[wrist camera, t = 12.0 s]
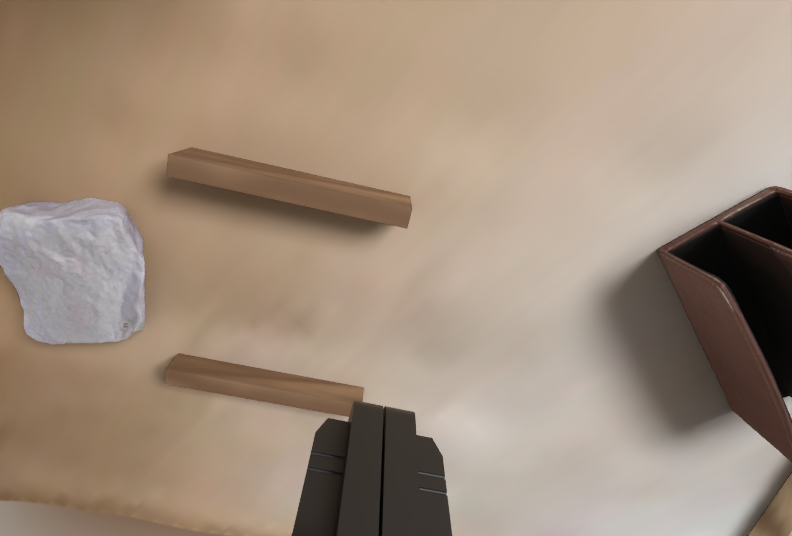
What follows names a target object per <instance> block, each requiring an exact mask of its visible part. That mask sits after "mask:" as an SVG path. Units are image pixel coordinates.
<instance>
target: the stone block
mask: <svg viewBox="0 0 792 536" xmlns="http://www.w3.org/2000/svg"><path fill="white" fill-rule="evenodd" d="M143 247H144V241H143V237H142V236H141V234H140V233H139V231H138V229H137V227H136V225H135V223H134V222H133V220H132V219H131V217H130V215H129V213H128V212H127V210H126V209H125V208H124V207H123V205H122V204H120V203H117V202H114V201H105V200H100V199H97V198H86V199H81V200H72V201H70V202H68V203H56V202H32V203H25V204H23V205H15V206H12V207H8V208H4V209H3V210H1V212H0V265H1V267H2V268H3V270H4V273H5V274H6V276H7V277H8V279H9V280H10V281H11V282H12V283H13V285H14V287H15V288H16V290H17V292H18V294H19V297H20V303H21V306H22V308H23V310H24V325H23V326H24V330H25V332H26V333H27V335H28V336H30V337H31V338H33V339H35V340H37V341H40V342H44V343H49V344H54V345H55V344H65V343H104V342H117V341H121V340H125V339H127V338H129V337H130V336H131V335H133V333H135V332H137V331H141V330H142V329H143V328H144V324H145V321H146V318H145V301H144V295H145V286H144V280H145V269H144V267H145V259H144V257H143Z"/></svg>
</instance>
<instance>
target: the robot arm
mask: <svg viewBox="0 0 792 536" xmlns="http://www.w3.org/2000/svg"><path fill="white" fill-rule="evenodd" d="M444 477H445V473H444V465H443V456H442V455H441V453H440V451H439V449H438V448H437V446H436V444H435V442H434V441H433V439H432V438H429V437H424V436H418V435H416V422H415V413H414V412H411V411H406V410H401V409H396V408H391V407H386V406H385V407H384V409H383V406H380V405H375V404H370V403H365V402H360V401H355V400H354V401H353V404H352V408H351V412H350V416H349V420H348V422H345V421H340V420H335V419H330V418H328V419H327V420H326V421H325V422H324V423H323V425H322V426H321V427H320V428H319V429H318V430H317V431H316V433H315V438H314V442H313V446H312V451H311V455H310V459H309V464H308V468H307V472H306V477H305V481H304V486H303V490H302V494H301V499H300V503H299V507H298V512H297V516H296V520H295V525H294V529H293V533H292V536H452V531H451V522H450V514H449V506H448V498H447V496H446V493H447V489H446V481H445V479H444Z"/></svg>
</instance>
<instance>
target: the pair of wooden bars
mask: <svg viewBox="0 0 792 536" xmlns="http://www.w3.org/2000/svg"><path fill="white" fill-rule="evenodd" d="M167 176H169V177H173V178H178V179H182V180H187V181H192V182H196V183H201V184H205V185H210V186H214V187H219V188H224V189H228V190H233V191H237V192H242V193H247V194H251V195H256V196H260V197H265V198H269V199H274V200H279V201H283V202H288V203H292V204H297V205H302V206H306V207H311V208H315V209H320V210H324V211H329V212H334V213H338V214H343V215H347V216H352V217H357V218H361V219H366V220H370V221H375V222H379V223H384V224H389V225H393V226H398V227H402V228H408V224H409V220H410V216H411V211H412V205H411V199H410V196H406V195H401V194H397V193H392V192H388V191H384V190H379V189H375V188H370V187H366V186H361V185H357V184H352V183H348V182H344V181H339V180H335V179H330V178H326V177H321V176H317V175H312V174H308V173H303V172H299V171H295V170H290V169H286V168H281V167H277V166H272V165H268V164H263V163H259V162H255V161H250V160H246V159H241V158H237V157H232V156H228V155H223V154H219V153H214V152H210V151H206V150H201V149H197V148H188V149H185V150H181V151H178V152H174V153H171V154H168V163H167ZM165 384H169V385H174V386H180V387H185V388H191V389H197V390H202V391H208V392H213V393H219V394H225V395H230V396H236V397H241V398H247V399H253V400H258V401H264V402H269V403H275V404H280V405H286V406H292V407H297V408H303V409H308V410H314V411H320V412H325V413H331V414H336V415H342V416H348V417H349V416H350V412H351V408H352V404H353V401H354V400H355V401H360V402H362V401H363V391H364V388H362V387H357V386H351V385H346V384H340V383H335V382H330V381H324V380H319V379H313V378H308V377H303V376H297V375H292V374H286V373H281V372H276V371H270V370H265V369H259V368H254V367H249V366H243V365H238V364H232V363H227V362H222V361H216V360H211V359H205V358H200V357H195V356H189V355H184V354H178V355H177V356H176V357H175V358H174V359H173V361H172V362H171V363H170V364H169V366H168V367H167V368H166V370H165Z"/></svg>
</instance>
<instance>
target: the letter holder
mask: <svg viewBox="0 0 792 536" xmlns="http://www.w3.org/2000/svg"><path fill="white" fill-rule="evenodd" d="M657 251H658V254H659V256H660V258H661V260H662V262H663V265H664V267H665V268H666V271H667V273H668V275H669V277H670V279H671V281H672V283H673V286H674V288H675V290H676V292H677V294H678V296H679V298H680V301H681V302H682V305H683V307H684V309H685V311H686V313H687V315H688V317H689V320H690V322H691V323H692V326H693V328H694V330H695V332H696V334H697V337H698V339H699V341H700V343H701V345H702V347H703V350H704V351H705V353H706V355H707V358H708V360H709V361H710V364H711V367H712V368H713V370H714V372H715V374H716V377H717V378H718V381H719V382H720V385H721V387H722V389H723V391H724V393H725V395H726V397H727V399H728V401H729V403H730V405H731V408H732V410H733V411H734V412H735V413H736V414H737V415H738V416H740V417H741V418H742V419H743V420H744V421H745V422H746V423H747V424H749V425H750V426H751V427H752V428H753V429H754V430H755V431H757V432H758V433H759V434H760V435H761V436H762V437H763V438H765V439H766V440H767V441H768V442H769V443H770V444H771V445H773V446H774V447H775V448H776V449H777V450H779V451H780V452H781V453H782V454H783V455H784V456H785V457H786V458H787V459H789V460H790V461H791V462H792V419H791V417H790V414H789V412H788V410H787V407H786V405H785V402H784V400H783V398H784V397H787V396H790V397H792V191H791V190H788V189H785V188H782V187H777V186H773V187H769V188H767V189H766V190H764V191H762V192H760V193H758V194H756V195H754V196H753V197H751V198H749V199H747V200H746V201H744V202H742V203H740V204H738V205H736V206H734V207H733V208H731V209H729V210H727V211H725V212H724V213H722V214H720V215H718V216H716V217H715V218H713V219H711V220H710V221H707V222H705V223H704V224H702V225H700V226H698V227H697V228H695V229H693V230H692V231H689V232H688V233H686V234H684V235H682V236H680V237H678V238H677V239H675V240H674V241H672V242H670V243H668V244H666V245H664V246H662V247H661V248H659V249H658V250H657Z"/></svg>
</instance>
